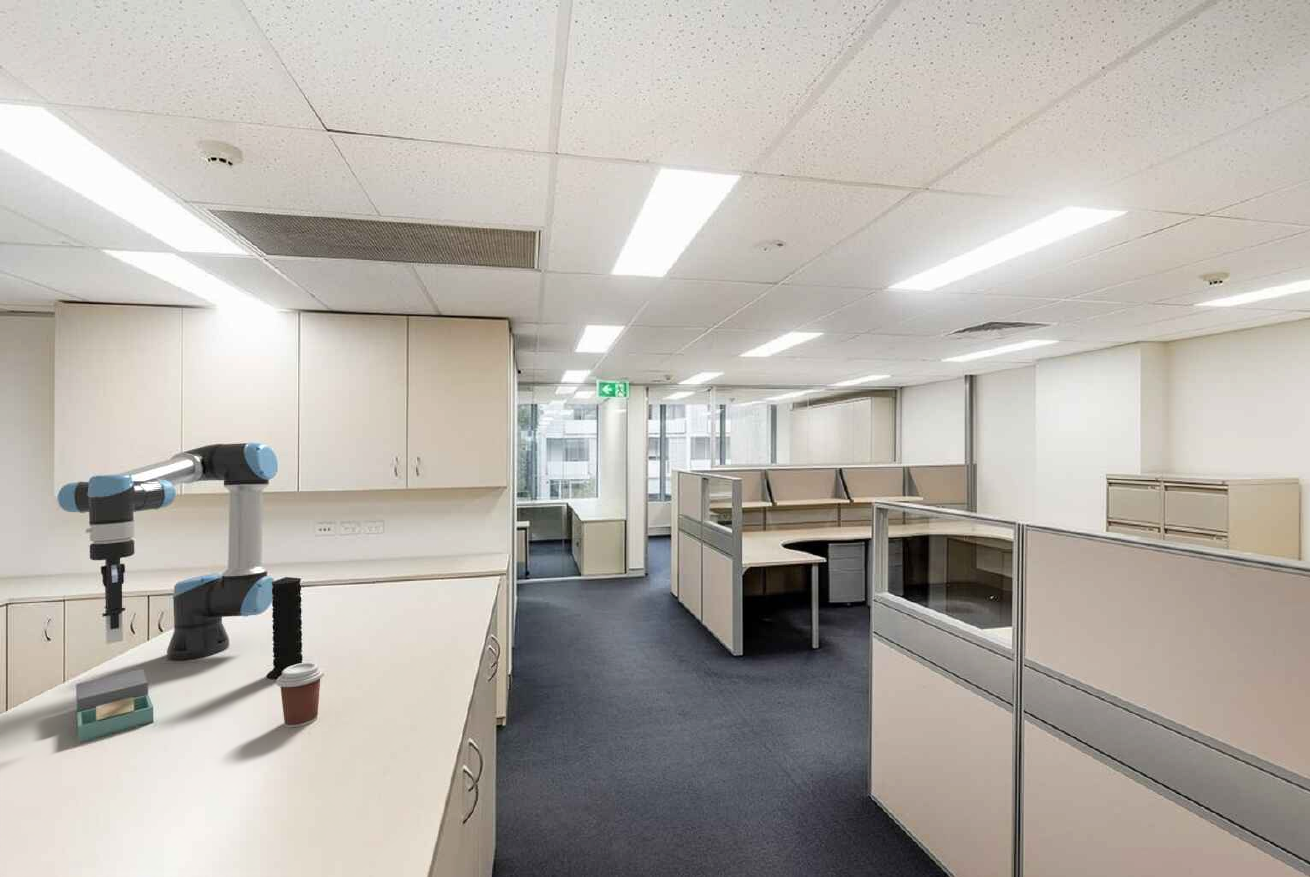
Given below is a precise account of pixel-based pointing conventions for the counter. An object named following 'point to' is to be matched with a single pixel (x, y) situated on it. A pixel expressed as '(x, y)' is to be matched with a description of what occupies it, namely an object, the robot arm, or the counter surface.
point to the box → (114, 720)
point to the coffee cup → (300, 693)
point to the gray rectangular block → (110, 690)
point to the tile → (114, 708)
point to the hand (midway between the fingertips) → (114, 641)
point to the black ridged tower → (286, 625)
